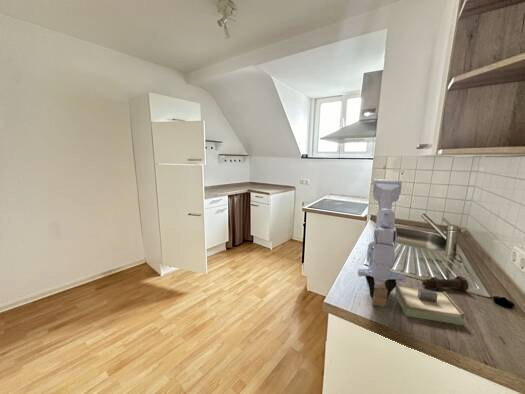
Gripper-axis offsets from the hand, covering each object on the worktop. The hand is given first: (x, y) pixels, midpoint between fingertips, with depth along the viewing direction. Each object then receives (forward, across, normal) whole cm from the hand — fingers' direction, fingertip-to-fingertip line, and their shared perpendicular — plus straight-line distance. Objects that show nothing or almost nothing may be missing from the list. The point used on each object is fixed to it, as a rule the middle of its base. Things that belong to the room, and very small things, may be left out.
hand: (378, 296), depth 79 cm
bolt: (+4, +28, +19) cm, 34 cm away
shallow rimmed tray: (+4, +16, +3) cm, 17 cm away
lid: (+1, +16, +3) cm, 16 cm away
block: (+2, 0, 0) cm, 2 cm away
